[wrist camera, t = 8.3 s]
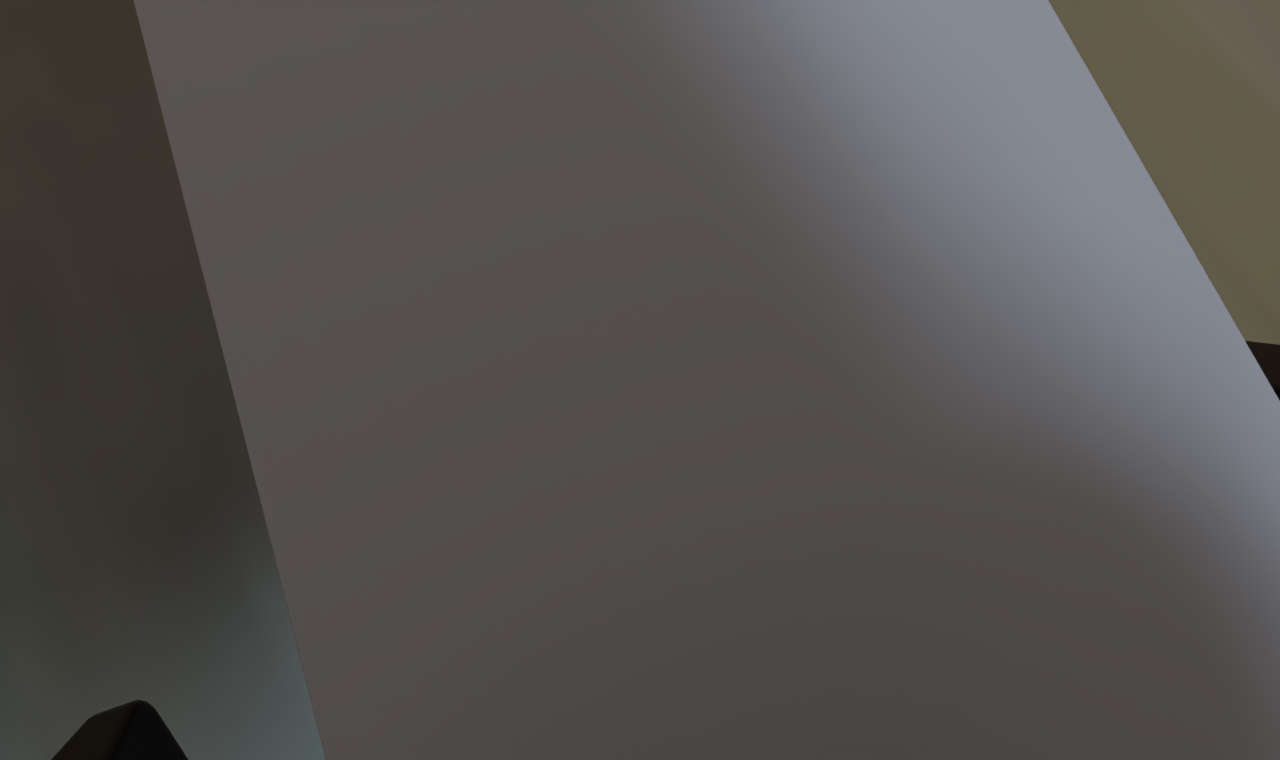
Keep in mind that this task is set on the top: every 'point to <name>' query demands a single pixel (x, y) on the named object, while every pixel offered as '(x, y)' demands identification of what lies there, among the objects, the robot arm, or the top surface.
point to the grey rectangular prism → (725, 382)
